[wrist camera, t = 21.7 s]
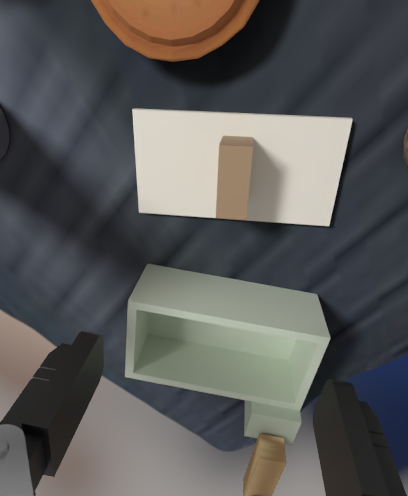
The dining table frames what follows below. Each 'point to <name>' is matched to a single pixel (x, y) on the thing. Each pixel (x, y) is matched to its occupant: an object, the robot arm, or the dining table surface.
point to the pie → (175, 25)
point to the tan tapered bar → (264, 466)
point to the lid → (239, 165)
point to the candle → (406, 148)
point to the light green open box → (228, 342)
